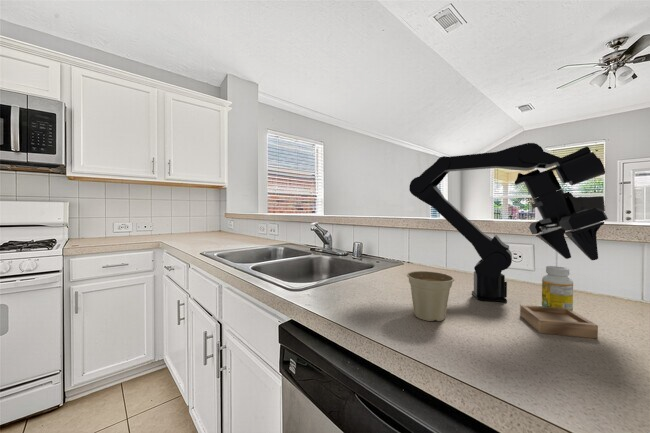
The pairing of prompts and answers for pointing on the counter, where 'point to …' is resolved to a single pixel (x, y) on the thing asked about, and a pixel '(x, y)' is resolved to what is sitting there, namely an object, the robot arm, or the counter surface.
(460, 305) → the counter surface
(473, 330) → the counter surface
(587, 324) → the wooden tray
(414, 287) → the flower pot
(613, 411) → the counter surface
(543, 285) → the supplement bottle
